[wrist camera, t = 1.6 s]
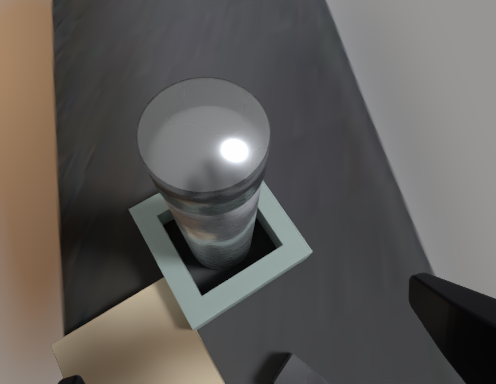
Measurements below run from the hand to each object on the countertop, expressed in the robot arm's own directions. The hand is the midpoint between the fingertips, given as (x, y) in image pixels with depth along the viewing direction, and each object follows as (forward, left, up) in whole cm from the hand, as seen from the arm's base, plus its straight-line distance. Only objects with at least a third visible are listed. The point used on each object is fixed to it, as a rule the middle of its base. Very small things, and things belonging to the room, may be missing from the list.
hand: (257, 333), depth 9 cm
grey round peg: (+6, -2, -12) cm, 14 cm away
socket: (+6, -2, -12) cm, 14 cm away
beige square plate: (+2, +6, -12) cm, 14 cm away
